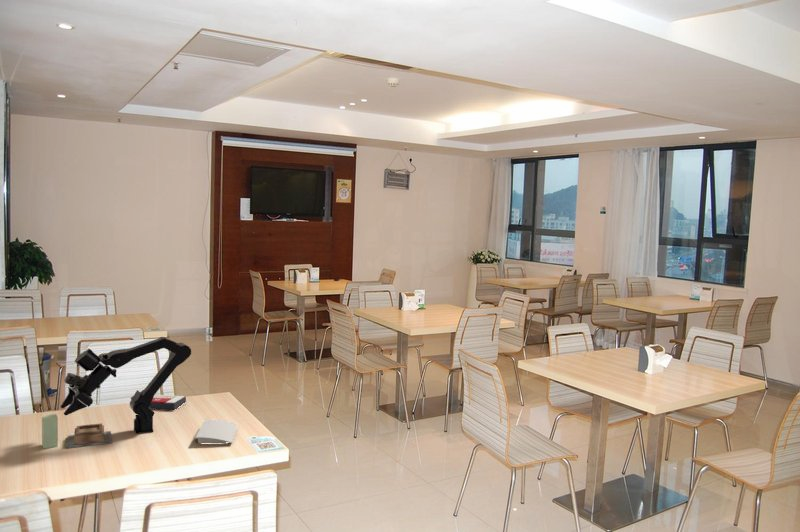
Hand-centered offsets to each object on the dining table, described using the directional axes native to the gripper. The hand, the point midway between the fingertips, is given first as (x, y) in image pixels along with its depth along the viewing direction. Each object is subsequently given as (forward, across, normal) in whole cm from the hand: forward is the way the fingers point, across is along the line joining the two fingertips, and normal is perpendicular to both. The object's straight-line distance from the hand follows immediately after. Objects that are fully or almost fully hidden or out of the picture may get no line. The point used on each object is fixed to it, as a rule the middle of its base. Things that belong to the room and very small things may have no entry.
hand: (62, 411), depth 226 cm
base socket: (+2, +1, +15) cm, 15 cm away
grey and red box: (-22, -28, +40) cm, 54 cm away
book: (-27, +20, +45) cm, 56 cm away
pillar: (+12, 0, +6) cm, 13 cm away
